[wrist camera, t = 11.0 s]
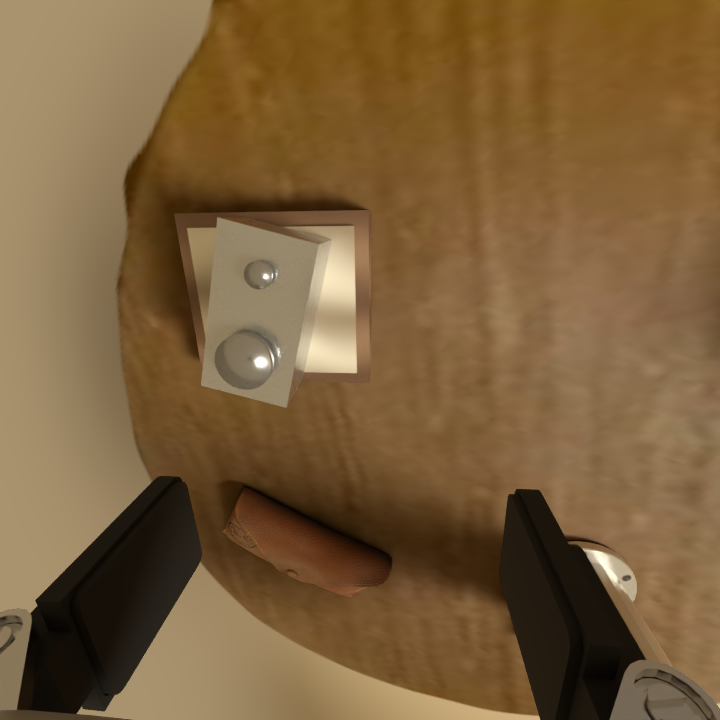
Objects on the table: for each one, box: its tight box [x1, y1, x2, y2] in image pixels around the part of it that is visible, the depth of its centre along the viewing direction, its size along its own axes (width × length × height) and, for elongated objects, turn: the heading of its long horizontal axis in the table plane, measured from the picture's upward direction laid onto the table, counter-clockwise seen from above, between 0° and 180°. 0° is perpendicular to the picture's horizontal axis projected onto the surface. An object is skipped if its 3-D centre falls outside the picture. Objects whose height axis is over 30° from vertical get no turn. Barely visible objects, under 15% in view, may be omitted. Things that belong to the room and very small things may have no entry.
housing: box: [201, 217, 332, 408], centre depth 25 cm, size 6×11×6 cm, turn 166°
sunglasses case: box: [223, 486, 392, 597], centre depth 40 cm, size 18×7×7 cm
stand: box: [174, 210, 371, 383], centre depth 29 cm, size 13×14×3 cm
